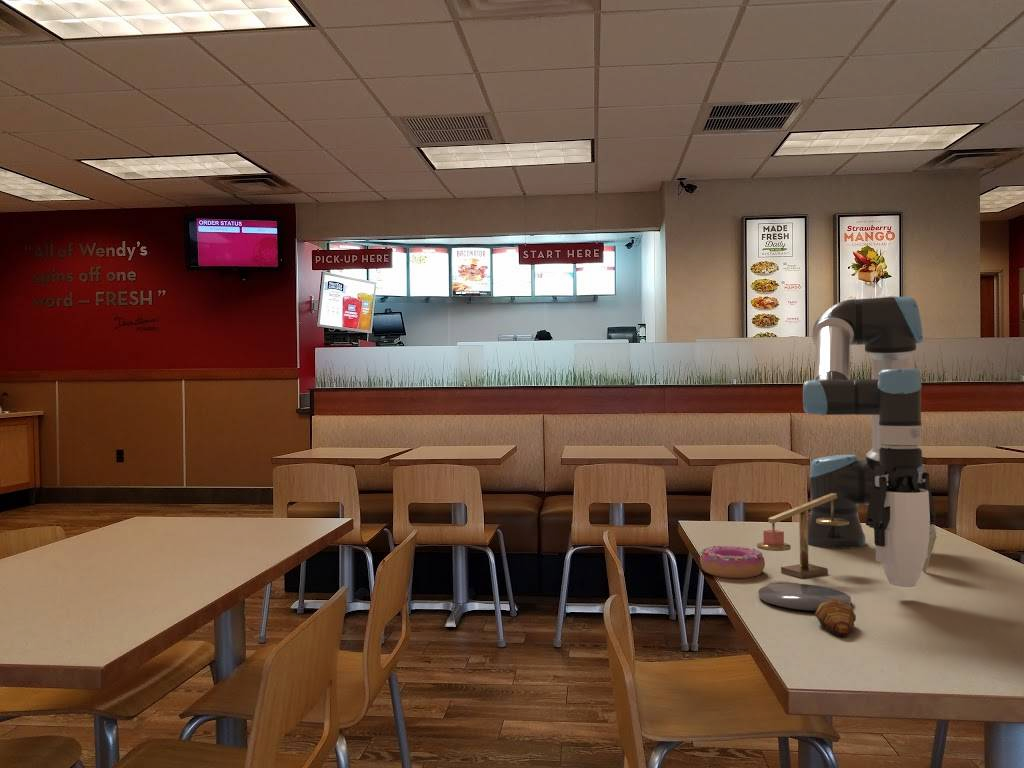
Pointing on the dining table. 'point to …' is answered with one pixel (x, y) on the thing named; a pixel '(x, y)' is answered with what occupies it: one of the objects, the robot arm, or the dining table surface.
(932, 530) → the ice cream cone
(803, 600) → the grey flat disc
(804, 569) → the balance
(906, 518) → the cup
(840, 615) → the croissant
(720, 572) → the donut
